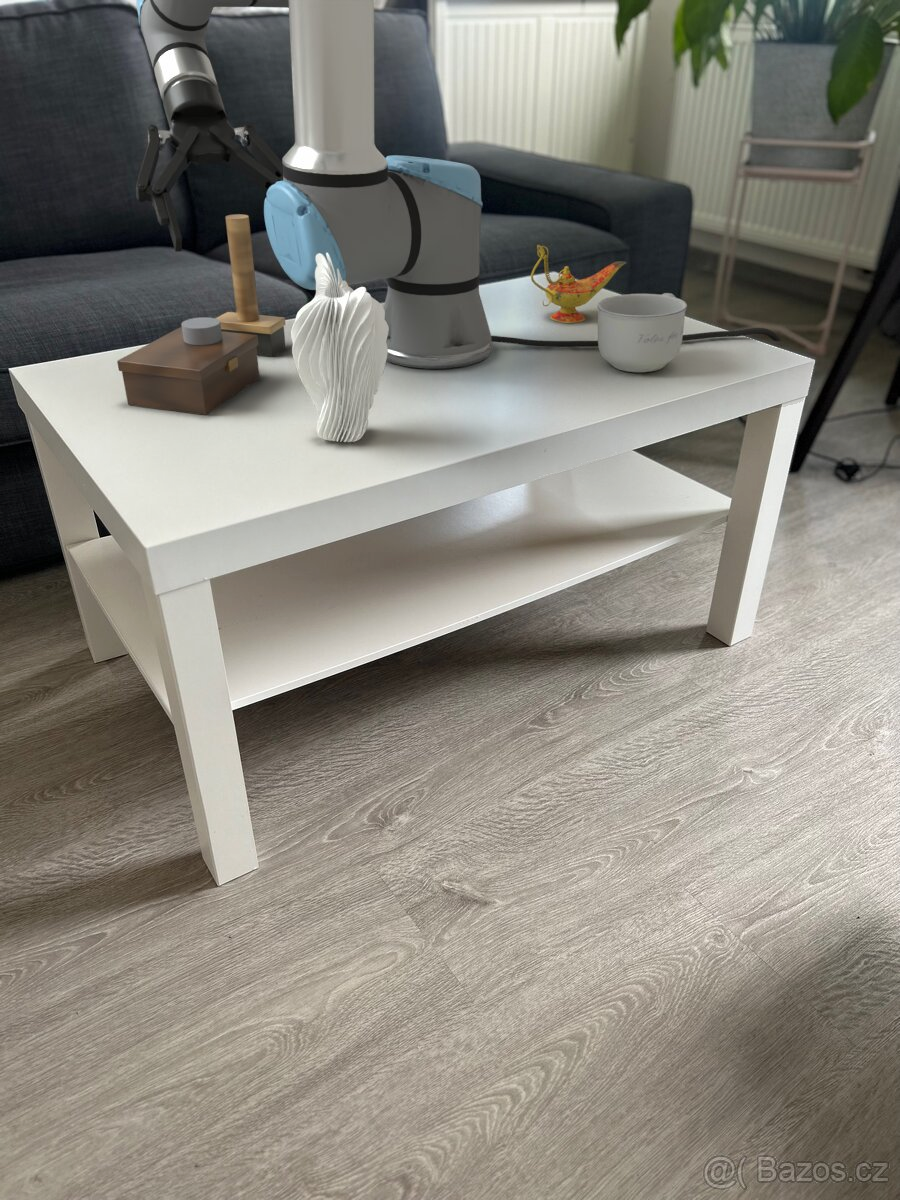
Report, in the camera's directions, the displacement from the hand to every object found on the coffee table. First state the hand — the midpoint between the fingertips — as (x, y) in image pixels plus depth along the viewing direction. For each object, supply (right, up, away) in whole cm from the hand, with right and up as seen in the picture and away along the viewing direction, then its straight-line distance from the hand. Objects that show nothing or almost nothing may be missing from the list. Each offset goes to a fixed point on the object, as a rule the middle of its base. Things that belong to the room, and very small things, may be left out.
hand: (232, 241), depth 118 cm
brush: (+2, -13, +4) cm, 13 cm away
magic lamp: (+46, -4, +18) cm, 50 cm away
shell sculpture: (+17, -29, -20) cm, 39 cm away
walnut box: (-2, -21, -9) cm, 23 cm away
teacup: (+53, -15, +1) cm, 55 cm away
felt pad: (-1, -15, -9) cm, 18 cm away
